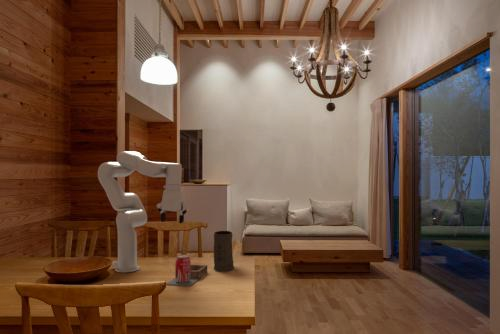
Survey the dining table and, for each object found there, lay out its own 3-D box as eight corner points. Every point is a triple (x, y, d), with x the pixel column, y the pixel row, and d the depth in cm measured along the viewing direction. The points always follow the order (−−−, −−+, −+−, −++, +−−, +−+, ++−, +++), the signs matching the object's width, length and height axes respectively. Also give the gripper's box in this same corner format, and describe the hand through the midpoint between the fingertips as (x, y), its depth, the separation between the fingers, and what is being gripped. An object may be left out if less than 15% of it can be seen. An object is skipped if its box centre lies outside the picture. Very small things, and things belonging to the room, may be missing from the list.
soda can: (176, 279, 179) (176, 254, 179) (191, 279, 179) (191, 254, 179) (174, 284, 171) (174, 258, 172) (190, 283, 172) (190, 257, 172)
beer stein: (230, 272, 192) (230, 234, 192) (210, 271, 194) (210, 233, 195) (237, 265, 207) (237, 229, 207) (219, 264, 209) (219, 228, 210)
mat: (166, 284, 172) (166, 283, 172) (175, 278, 182) (175, 277, 182) (190, 286, 169) (190, 285, 169) (198, 280, 179) (198, 279, 179)
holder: (176, 278, 182) (176, 270, 183) (185, 271, 194) (185, 264, 194) (199, 279, 180) (199, 271, 180) (207, 273, 191) (207, 265, 192)
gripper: (153, 187, 183) (152, 222, 183) (186, 189, 179) (185, 224, 179) (161, 186, 190) (160, 219, 191) (192, 188, 186) (191, 222, 186)
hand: (172, 222), depth 185 cm, fingers open, 9 cm apart
